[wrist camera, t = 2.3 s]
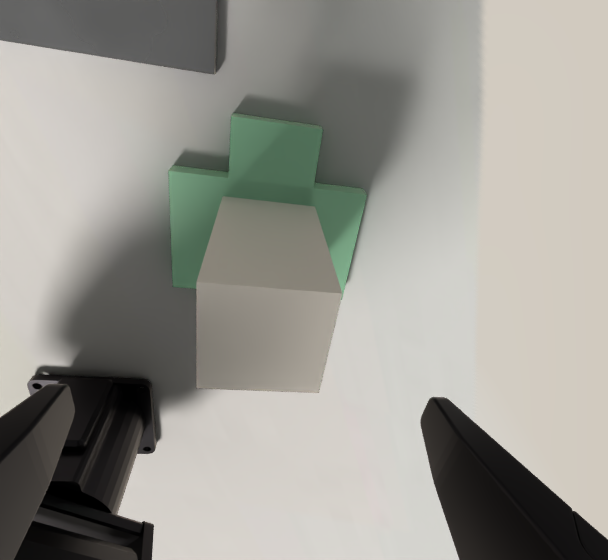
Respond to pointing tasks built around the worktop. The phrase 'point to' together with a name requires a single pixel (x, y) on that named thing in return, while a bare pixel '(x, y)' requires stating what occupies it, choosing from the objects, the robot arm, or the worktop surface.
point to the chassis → (119, 29)
